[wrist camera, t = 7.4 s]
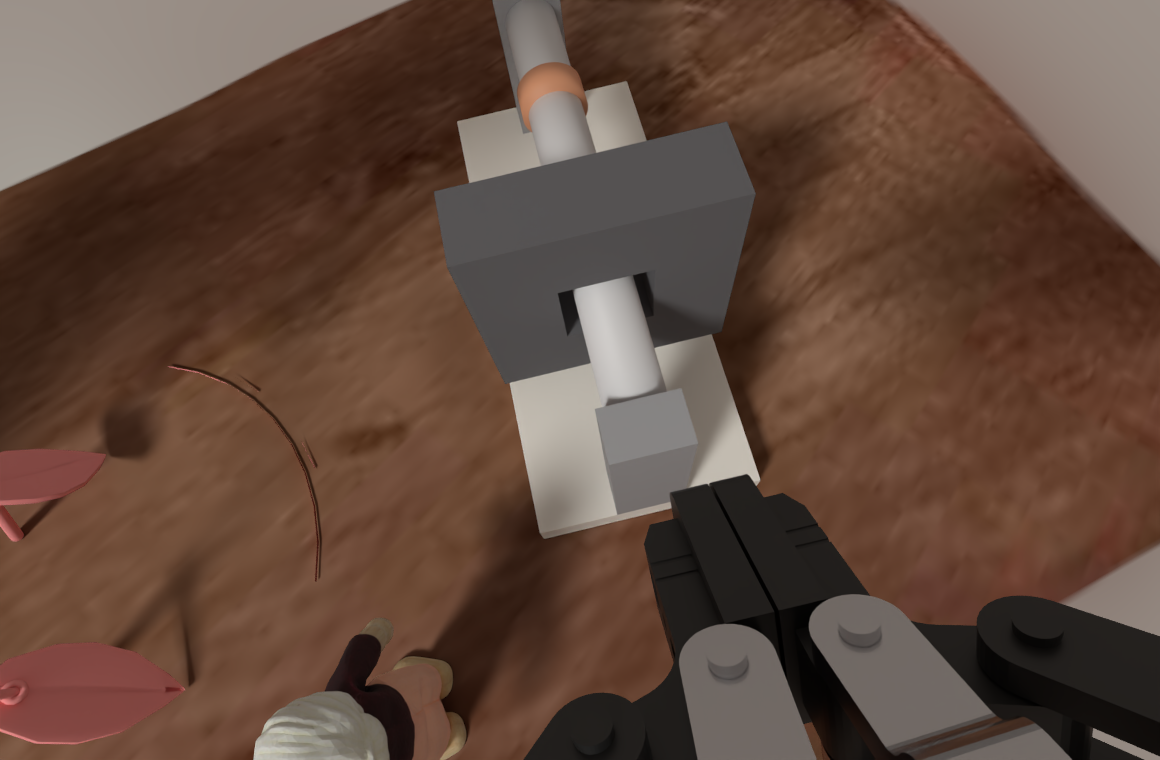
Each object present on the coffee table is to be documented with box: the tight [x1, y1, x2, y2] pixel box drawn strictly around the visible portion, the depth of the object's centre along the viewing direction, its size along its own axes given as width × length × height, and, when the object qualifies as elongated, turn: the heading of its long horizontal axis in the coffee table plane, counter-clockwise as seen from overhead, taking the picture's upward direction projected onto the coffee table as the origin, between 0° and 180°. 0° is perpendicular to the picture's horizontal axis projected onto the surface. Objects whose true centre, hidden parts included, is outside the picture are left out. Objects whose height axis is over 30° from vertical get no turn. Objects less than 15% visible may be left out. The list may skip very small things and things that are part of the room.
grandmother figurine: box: [254, 618, 466, 760], centre depth 23 cm, size 8×4×13 cm, turn 27°
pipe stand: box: [457, 0, 760, 539], centre depth 32 cm, size 10×24×10 cm, turn 13°
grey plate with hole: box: [434, 122, 756, 384], centre depth 27 cm, size 10×3×10 cm, turn 103°
